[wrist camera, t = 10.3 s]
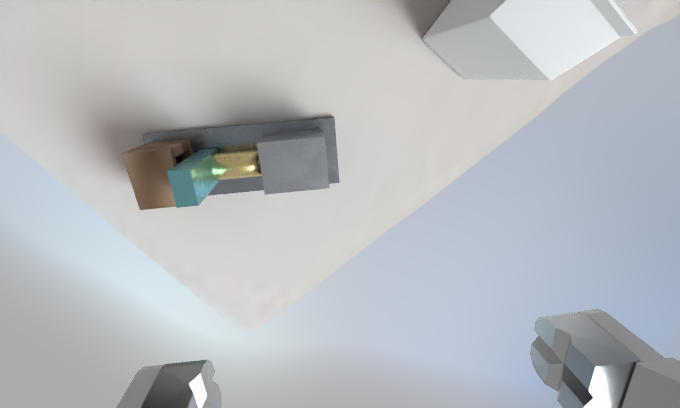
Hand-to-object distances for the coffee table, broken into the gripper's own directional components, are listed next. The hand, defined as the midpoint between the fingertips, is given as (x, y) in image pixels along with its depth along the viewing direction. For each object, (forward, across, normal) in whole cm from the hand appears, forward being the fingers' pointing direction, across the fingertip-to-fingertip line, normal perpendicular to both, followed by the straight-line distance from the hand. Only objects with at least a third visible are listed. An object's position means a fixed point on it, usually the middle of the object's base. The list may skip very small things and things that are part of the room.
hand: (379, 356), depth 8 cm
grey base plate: (+34, +10, +2) cm, 36 cm away
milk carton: (+34, -17, -10) cm, 40 cm away
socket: (+34, +18, +2) cm, 38 cm away
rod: (+33, +10, +2) cm, 35 cm away
